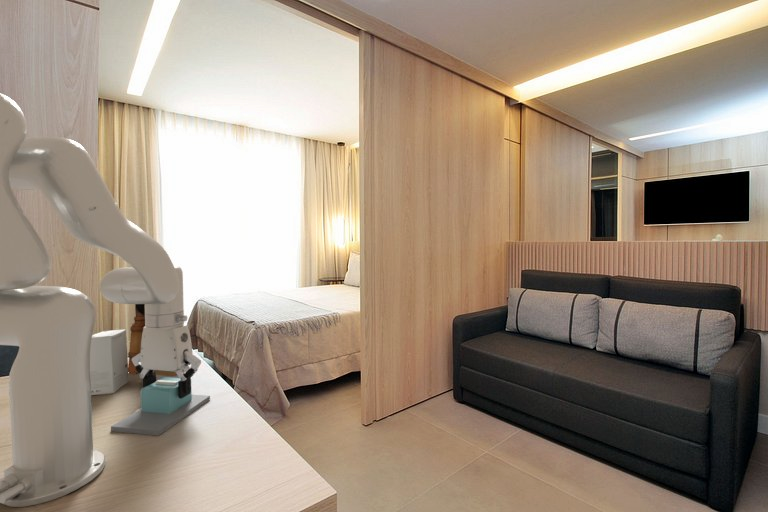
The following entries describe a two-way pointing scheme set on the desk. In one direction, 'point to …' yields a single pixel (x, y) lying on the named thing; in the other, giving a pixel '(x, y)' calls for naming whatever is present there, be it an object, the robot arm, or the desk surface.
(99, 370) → the skincare box
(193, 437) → the desk surface
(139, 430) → the board
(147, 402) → the teal box
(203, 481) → the desk surface
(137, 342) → the binoculars
